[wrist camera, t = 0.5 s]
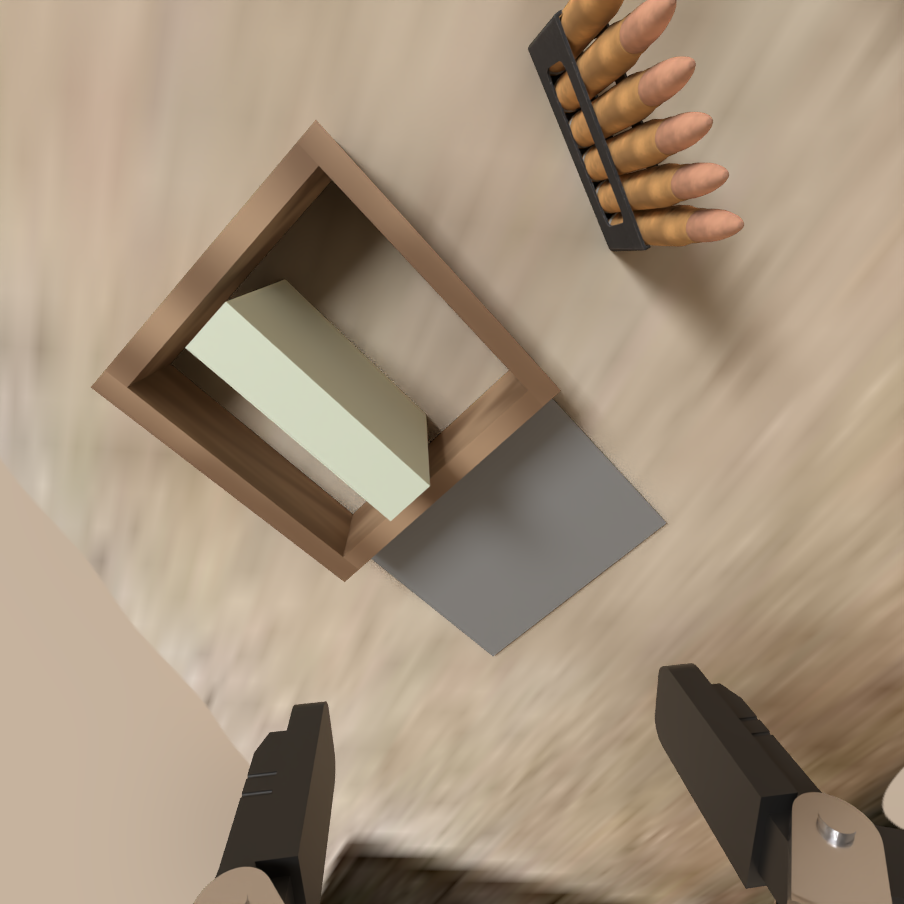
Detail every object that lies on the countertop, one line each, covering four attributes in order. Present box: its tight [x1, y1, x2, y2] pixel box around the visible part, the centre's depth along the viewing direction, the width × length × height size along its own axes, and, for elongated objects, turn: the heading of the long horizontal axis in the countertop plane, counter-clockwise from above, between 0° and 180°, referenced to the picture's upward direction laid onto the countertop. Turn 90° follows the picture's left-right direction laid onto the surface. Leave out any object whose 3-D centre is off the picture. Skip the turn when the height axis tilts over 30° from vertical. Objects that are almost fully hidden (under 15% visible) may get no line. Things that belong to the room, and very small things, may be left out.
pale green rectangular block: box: [185, 280, 430, 521], centre depth 27 cm, size 2×11×10 cm, turn 44°
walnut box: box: [91, 120, 561, 582], centre depth 29 cm, size 16×16×5 cm
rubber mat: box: [371, 399, 666, 656], centre depth 36 cm, size 16×13×1 cm
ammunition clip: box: [528, 0, 744, 251], centre depth 22 cm, size 11×2×12 cm, turn 29°
